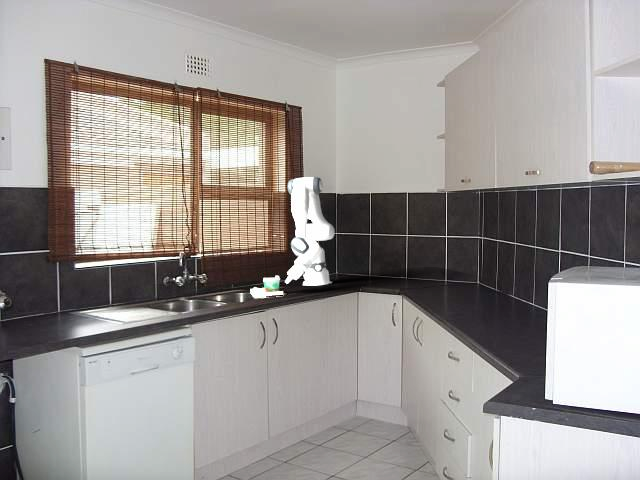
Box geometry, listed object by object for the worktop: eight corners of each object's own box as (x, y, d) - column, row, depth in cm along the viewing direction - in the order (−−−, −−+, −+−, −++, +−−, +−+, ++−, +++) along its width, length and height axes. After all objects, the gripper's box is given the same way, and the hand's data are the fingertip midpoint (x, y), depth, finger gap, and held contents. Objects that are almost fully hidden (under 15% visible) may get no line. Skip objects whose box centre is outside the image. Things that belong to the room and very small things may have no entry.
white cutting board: (250, 293, 384) (250, 287, 384) (277, 291, 388) (277, 285, 387) (254, 298, 362) (254, 292, 362) (283, 296, 365) (282, 290, 365)
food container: (272, 295, 369) (271, 278, 368) (263, 295, 372) (263, 278, 372) (285, 292, 379) (284, 275, 379) (276, 292, 383) (276, 275, 382)
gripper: (294, 260, 388) (279, 277, 387) (300, 263, 368) (284, 281, 367) (302, 267, 389) (287, 284, 388) (308, 270, 369) (292, 288, 368)
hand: (285, 282), depth 377 cm, fingers closed
